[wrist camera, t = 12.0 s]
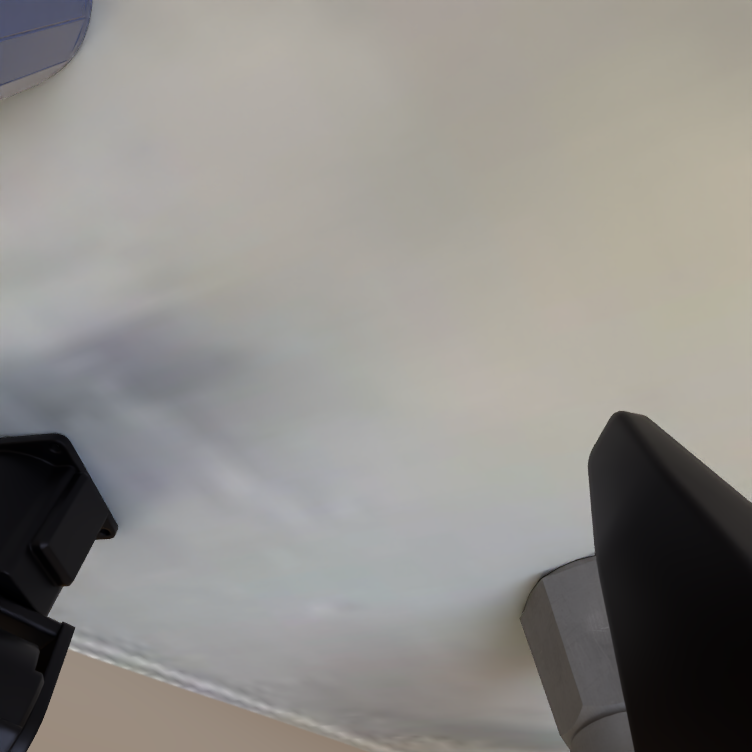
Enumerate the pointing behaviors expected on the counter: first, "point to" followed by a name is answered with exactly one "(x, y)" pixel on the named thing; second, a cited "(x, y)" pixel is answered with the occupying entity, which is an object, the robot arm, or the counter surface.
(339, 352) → the counter surface
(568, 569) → the coffeepot
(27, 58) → the holder cup
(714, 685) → the robot arm
